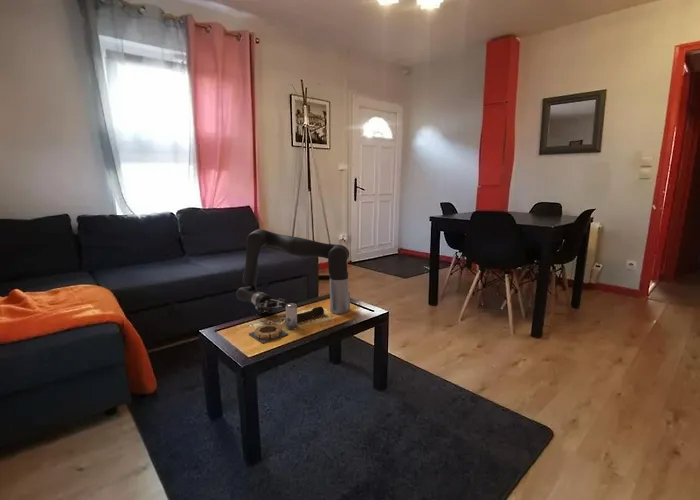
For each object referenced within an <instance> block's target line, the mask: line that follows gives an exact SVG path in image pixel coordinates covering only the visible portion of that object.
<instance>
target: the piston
mask: <svg viewBox="0 0 700 500" xmlns="http://www.w3.org/2000/svg"><path fill="white" fill-rule="evenodd" d="M297 314H298V306H297V304H296V303H294V302H291V303H286V308H285V322H286V324H285V325H286V329H287V330H296V329H298V323H299V321H298V322H297ZM295 328H296V329H295Z"/></svg>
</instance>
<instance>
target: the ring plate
mask: <svg viewBox="0 0 700 500" xmlns="http://www.w3.org/2000/svg"><path fill="white" fill-rule="evenodd" d="M248 335H249V336H250V337H252V338H253V339H255V340H257V341H258V342H260V343H261V344H265V343H268V342H271V341H274V340H278V339H281V338H284V337H287V336H289V333H287V332H286V331H283V328H282V327H281V326H280V325H278V324H264V325H260V326H257V327H256V328H255V329H254V331H252V332H250V333H248Z"/></svg>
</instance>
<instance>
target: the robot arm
mask: <svg viewBox="0 0 700 500" xmlns="http://www.w3.org/2000/svg"><path fill="white" fill-rule="evenodd" d="M264 247H272V248H276V249H279V250H281V251H283V252H285V253H286V254H288V255H291V256H296V257H301V258H302V257H303V258H324V259H327V265H328V266H327V267H328V274H329V303H330V304H329V306H330V308H329V310H330V313H332V314H336V315H341V314H347V313H349V311H351V292H350V291H349V272H348V259H349V257H350V251H349V249H348V248H347V246H344V245H342V244H336V243H335V244H333V243H324V242H320V241H316V240H313V239H308V238H303V237H298V236H291V235H287V234H279V233H275V232H272V231H269V230H266V229H263V228H262V229H261V228H260V229H255V230H254V231H252V232H250V233H249V234H248V235H247V237H246V249H245V250H246V251H245V252H246V254H245V264H244V270H243V275H242V279H241V281H242V283H243V284H244V286H242V287H239V288H237V290H236V292H235V295H236V298H237V300H239V301H240V302H244V303H249V304H252V305H253V306H254V307H255V310H256V311H258V312H259V313H263V312H264V313H265V312H267V313H269V314H272V312H273V310H272V308H277V309H279V308H284V309H286V304H287V299H284V298H280V297H279V298H277V299H275V298H273V297H272V296H271V295H269V294H267V293H265V292H261V291H258V290H257V289H258V288H257V279H258V273H259V262H258V260H259V256H260V255H259V254H260V253H261V250H262V249H263V248H264Z"/></svg>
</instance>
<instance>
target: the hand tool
mask: <svg viewBox="0 0 700 500" xmlns="http://www.w3.org/2000/svg"><path fill="white" fill-rule="evenodd" d="M324 314H325V310H324V308H323V306H316V307H313V308H312V310H309V311H305V312H301V313H297V322H298V323H299V322H301V321H306V320H308V319H312V318H315V317H316V318H319V317H321V316H323V315H324ZM318 316H319V317H318Z"/></svg>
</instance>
